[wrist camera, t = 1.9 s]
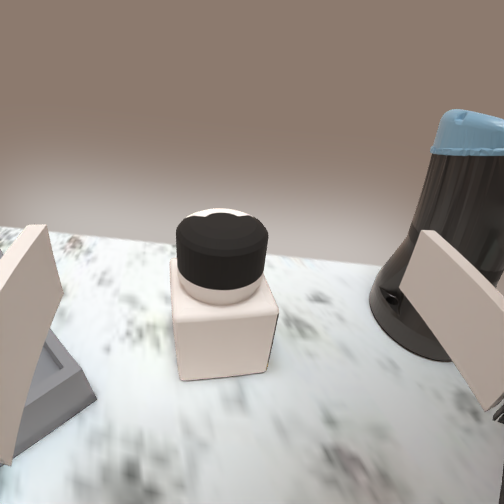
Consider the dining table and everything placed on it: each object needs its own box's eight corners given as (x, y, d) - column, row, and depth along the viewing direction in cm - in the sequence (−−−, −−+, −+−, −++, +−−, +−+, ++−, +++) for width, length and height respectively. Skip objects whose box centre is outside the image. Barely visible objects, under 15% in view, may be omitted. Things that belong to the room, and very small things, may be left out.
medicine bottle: (267, 373, 25) (293, 247, 18) (179, 382, 23) (167, 253, 17) (248, 314, 30) (262, 198, 24) (174, 320, 29) (167, 200, 22)
